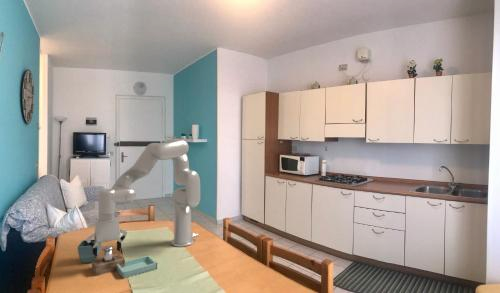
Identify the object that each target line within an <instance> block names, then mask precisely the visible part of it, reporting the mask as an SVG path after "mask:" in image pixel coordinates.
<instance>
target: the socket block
mask: <svg viewBox="0 0 500 293" xmlns="http://www.w3.org/2000/svg"><path fill="white" fill-rule="evenodd" d="M125 261H126V260H125V258H124V257H123V256H122V255H121V253H115V254H113V261H109V262H105V263H104V256H101V257H97V259H93V260H92V262H91V270H92V271H93V273H94V275H95V276H96V277H97V276H101V275H104V274H108V273H111V272H115V271H117V264H119V265H120V266H121V268H122V267H125Z"/></svg>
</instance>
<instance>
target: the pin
mask: <svg viewBox="0 0 500 293" xmlns="http://www.w3.org/2000/svg"><path fill="white" fill-rule="evenodd" d="M114 247H115V246H114V245H112V244H111V245H110V244H109V245H105V246H103V247H102V251H103V257H104V263H105V262H109V261H113V255H114V254H113V250H114Z"/></svg>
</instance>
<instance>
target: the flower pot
mask: <svg viewBox="0 0 500 293" xmlns="http://www.w3.org/2000/svg"><path fill="white" fill-rule="evenodd" d="M90 241H91V242H92V243H94V241H95V239H94V238H93V239H91V240H90ZM96 247H97V256H96V257H95V255H93V247H92V246H90V245H89V244H88V242H87V241H86V239H85V240H81V242H80V243H79V244H78V246H77V253H78V257H79V259H80V261H81V262H82V264H87V263H88V264H89V263H92V260H93V259H97V258H99V256H100V252H101V250H102V249H101V247H102V243H99V244H98V245H97V246H96Z"/></svg>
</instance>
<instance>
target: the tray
mask: <svg viewBox="0 0 500 293" xmlns="http://www.w3.org/2000/svg"><path fill="white" fill-rule="evenodd" d="M154 269H155V270H158V262H157V261H156V260H154V259H153V257H152V256H150V255H144V256H141V257H137V258H132V259H129V260H125V267H122V268H121V266H120V265H119V264H117V270H116V271H117V273H118V274H119V275H120V277H121V278H122V279H127V278H130V276H131V277H134V276H133V275H135V276H137V274H138V275H141V273H142V274H145V273H148V272H152V271H154ZM151 270H152V271H151ZM144 272H145V273H144Z"/></svg>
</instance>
